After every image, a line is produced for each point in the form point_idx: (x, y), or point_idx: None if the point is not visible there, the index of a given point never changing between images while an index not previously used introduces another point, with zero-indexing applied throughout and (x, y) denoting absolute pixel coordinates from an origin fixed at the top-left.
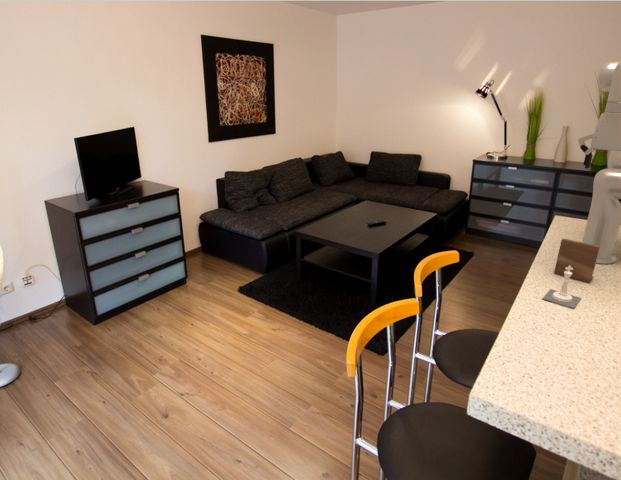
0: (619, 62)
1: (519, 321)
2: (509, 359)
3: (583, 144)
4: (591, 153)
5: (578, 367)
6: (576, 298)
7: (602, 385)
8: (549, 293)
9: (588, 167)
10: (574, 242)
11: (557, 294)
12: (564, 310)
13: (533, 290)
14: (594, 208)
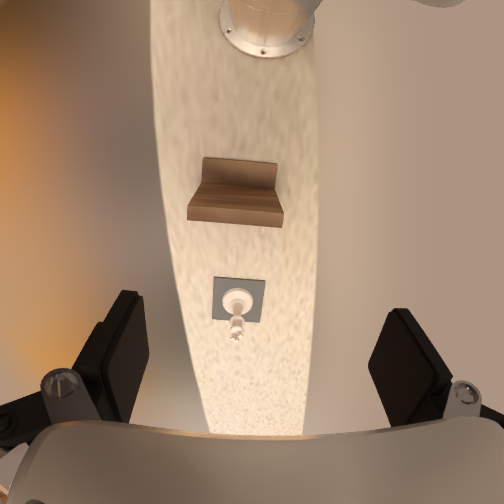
0: None
1: (207, 382)
2: (222, 430)
3: (14, 467)
4: (102, 407)
5: (276, 415)
6: (258, 289)
7: (294, 423)
8: (216, 296)
9: (146, 338)
10: (220, 222)
11: (230, 309)
12: (248, 331)
13: (191, 293)
14: None
